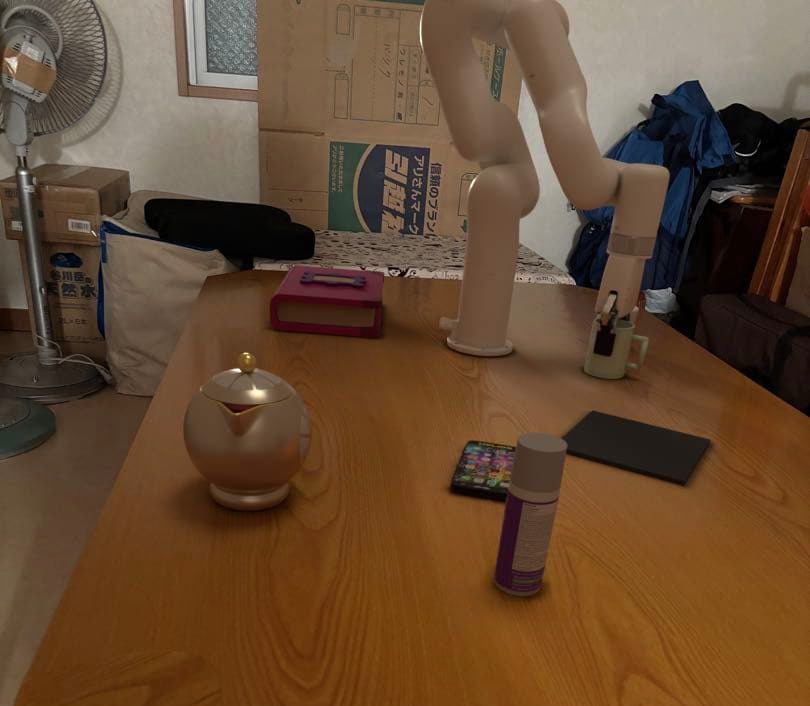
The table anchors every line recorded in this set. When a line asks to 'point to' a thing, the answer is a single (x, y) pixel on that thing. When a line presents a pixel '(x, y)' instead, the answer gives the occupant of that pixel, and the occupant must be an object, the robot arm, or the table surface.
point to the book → (329, 301)
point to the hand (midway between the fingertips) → (608, 349)
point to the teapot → (247, 435)
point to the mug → (614, 352)
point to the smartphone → (484, 470)
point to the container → (529, 513)
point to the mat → (636, 446)
